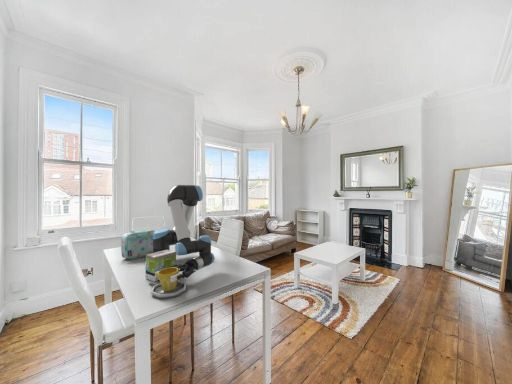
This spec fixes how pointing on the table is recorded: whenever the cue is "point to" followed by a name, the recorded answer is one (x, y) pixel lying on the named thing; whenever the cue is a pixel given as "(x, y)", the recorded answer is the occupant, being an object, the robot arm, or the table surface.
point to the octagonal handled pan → (160, 294)
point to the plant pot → (168, 278)
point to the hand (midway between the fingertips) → (163, 277)
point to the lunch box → (137, 244)
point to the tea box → (158, 263)
